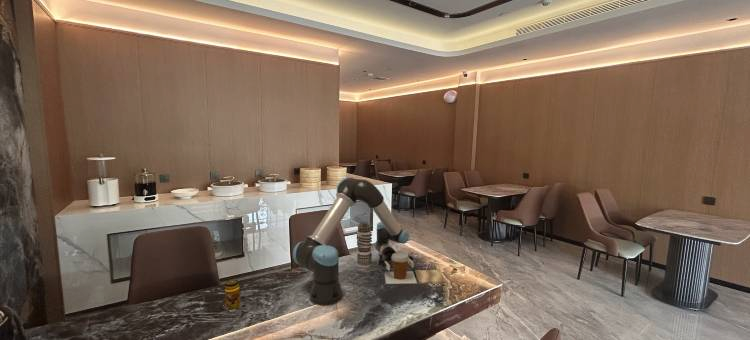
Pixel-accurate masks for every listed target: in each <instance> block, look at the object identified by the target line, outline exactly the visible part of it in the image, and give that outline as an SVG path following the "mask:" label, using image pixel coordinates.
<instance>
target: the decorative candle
mask: <svg viewBox="0 0 750 340" xmlns="http://www.w3.org/2000/svg"><path fill="white" fill-rule="evenodd" d="M371 227H372V225H371V224H370V223H369V222H366V221H365V222H363V221H361V222H360V223H359V224H358V225H357V233H356V246H357V256H356V257H357V259H356V260H357V261H356V262H357V266H358V267H359V268H369V267H371V266H372V263H373V261H372V255H373V253H372V245H373V244H372V239H373V238H372V237H373V232H372V229H371Z"/></svg>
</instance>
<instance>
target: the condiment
mask: <svg viewBox="0 0 750 340" xmlns="http://www.w3.org/2000/svg"><path fill="white" fill-rule="evenodd" d="M224 288H225V289H224V298H225V299H224V301H225V304H224V305H226V309H228V310H233V309H237V308H239V307H240V305H241V304H242V303H241V291H240V290H241V289H240V284H239V280H238V279H230V280H228V281H225V287H224Z"/></svg>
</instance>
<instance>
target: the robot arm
mask: <svg viewBox="0 0 750 340" xmlns="http://www.w3.org/2000/svg"><path fill="white" fill-rule="evenodd" d="M335 196H336V198H335V199H334V202H333V203H332V204H331V206H330V207H329V209H328V210H327V212H326V213H325V215H324V217H323V218H322V220H321V221H320V222H319V224H318V225H317V227H316V228H315V229H314V231H313V233H312V234H311V235H308V236H306V238H305V239H304V241H299V242H298V243H297V244H296V245H295V246H294V248H293V252H292V257H293V261H294V262H295V264H296V265H298V266H299V267H300V268H304V269H306V270H308V271H310V272H312V273H313V275H312V276H313V282H312V286H311V290H310V291H309V292H310V293H309V297H310V298H309V300H310V301H311V303H313V304H315V305H319V306H329V305H333V304H336V303H338V302H340V301H341V300H342V298H343V289H342V286H341V283H340V280H339V275H340V274H339V263H340V261H339V259H340V258H339V257H340V256H339V251H338V250H337V248H336V247H334V246H332V245H327V243H328V242H329V240H330V239H331V237H332V236H333V234H334V232H335V231H336V229H337V228H338V227H339V225H340V223H341V222H342V220H343V218H344V217H345V215H346V213H347V212H348V210H349V209H350V207H354V206H355V205H356V203H357V202H362V203H365V204H366V205H367V206H368V208H370V209H372V210H373V212H374V213H375V215H376V216H377V218H378V219H379V222H378V223H376V241H375V242H374V243H375V244H374V248H375V249H376V251H377V252H378V253H379V259H378V266H381V267H382V268H385V269H386V270H387V272H391V271H390V270H391V265H390V264H389V263H388V262H390V261H391V262H392V259H391V257H392V254H394V253H397V252H396V250H395V249H394V248H393V247H392V246H391V245H390V244H389V243H390V241H392V242H395V243H398V244H403V245H405V244H407V243H408V241H409V238H410V234H409V232H408V231H407V230H404V229H402V227H401V226H400V224H399V223H398V221H397V219H396V218H395V216H394V215H393V213H392V212H391V210H390V208H389V207H388V205H387V204H386V203H385V198H384V196H383V194H382V192H381V191H380V190H379V189H378V187H377V186H375V184H374V183H372V182H371V181H370V180H367V179H361V178H355V177H344V178H341V180H340V181H339V182H338V184H337V186H336V194H335ZM408 257H409V260H408V265H409V266H410V268H414V257H413V256H412V255H409V254H408Z"/></svg>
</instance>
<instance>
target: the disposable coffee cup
mask: <svg viewBox="0 0 750 340" xmlns="http://www.w3.org/2000/svg"><path fill="white" fill-rule="evenodd" d="M408 255H409V254H408V253H406V252H401V251H399V252H396V253H394V254H392V257H391V259H392V260H391V262H392V268H393V269H392V270H393V271H392V272H394V277H395V278H396V279H405V278H406V273H407V271H408V265H409V264H408V260H409V257H408Z"/></svg>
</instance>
